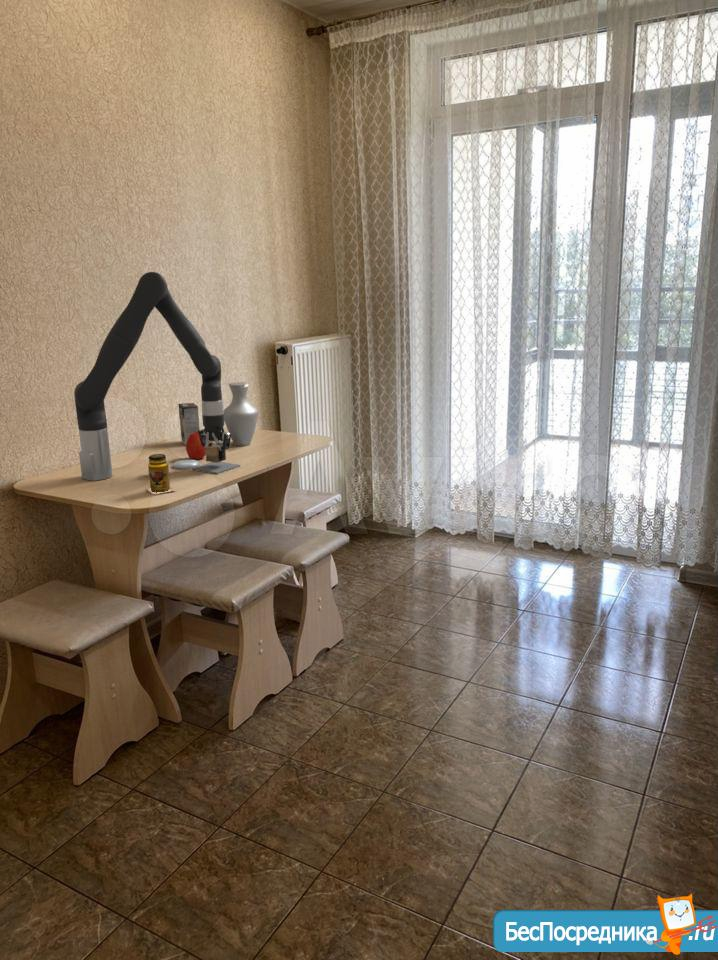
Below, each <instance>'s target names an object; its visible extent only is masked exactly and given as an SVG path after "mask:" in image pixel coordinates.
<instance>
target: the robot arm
mask: <svg viewBox="0 0 718 960" xmlns="http://www.w3.org/2000/svg"><path fill="white" fill-rule="evenodd" d="M154 308H155V309H156V310H157V311H158V313H160V315H161V316H162V317H163V319H164V320H165V322H166V324H167V325H168V326H169V328H170V329H171V331H172V332H173V335H174V336H175V338H176V339H177V340H178V342H179V344H180V345H181V346H182V347H183V349H184V350H185V351H186V352H187V354H188V355H189V357H190V359H191V361H192V363H193V365H194V366H195V369H196V370H197V372H199V374H200V375H201V380H202V381H201V387H200V394H201V418H202V426H203V427H204V428H202V429H200V430H198V434H199V438H200V442H201V446H204V447H205V448H206V447H209V446H212V445H214V443H215V445H217V446H218V449H219V460H220V461H221V462H224V461H226V460H225V449H226V450H227V449H230V448H231V447H230V445H231V440H232V439H231V433H229V432H226V431H225V429H224V427H225V421H224V403H223V396H222V395H223V393H222V384H221V382H222V364H221V361H220V359H219V358H218V357H217V356H216V355H214V354H211V353H210V351H209V350H208V348H207V347H206V342H205V340H204V339H203V338H202V336H201V334H200V333H199V332H198V331H197V329H196V328H195V326H194V324H193V323H192V321H190V320H189V318H187V316H186V315H185V314H184V312H183V311H182V310H181V309H180V308H179V306H178V304H177V303H176V301H175V299H174V298H173V296H172V294H171V292H170V290H169V288H168V284H167V281H166V279H165V277H164V276H163V275H162V274H161V273H159V272H156V271H149V272H145V273H143V274H142V275H141V277H140V278H139V280H138V283H137V285H136V287H135V290H134V292H133V294H132V296H131V298H130V300H129V302H128V304H127V305H126V307H125V309H124V310H123V311H122V312H121V314H120V315H119V317H118V318H117V319H116V321H115V322H114V324H113V325H112V327H111V329H110V331H109V332H108V334H107V335H106V337H105V339H104V340H103V343H102V345H101V347H100V348H99V349H100V350H99V351H98V355H97V358H96V360H95V363H94V365H93V367H92V369H91V370H90V372H89V373H88V375H87V376H86V377H85V379H84V380H82V381H80V382H79V383H77V385H76V386H75V387H74V391H73V395H74V397H73V398H74V403H75V404H74V405H75V412H76V419H77V420H76V421H77V426H78V428H77V429H78V434H79V442H80V443H79V444H80V451H79V452H78V456H79V464H80V473H81V479H83V480H87V481H93V482H94V481H99V480H100V481H101V480H105V479H110V478H113V476H114V475H113V467H112V458H111V448H110V439H109V431H108V429H109V428H108V421H107V414H106V408H105V407H106V406H105V399H106V396H107V394H108V392H109V389H110V387H111V385H112V383H113V381H114V379H115V378H116V376H117V374H118V373H119V372H120V371H121V369H122V368H123V366H124V365H125V363H126V362H127V360H128V358H129V357H130V356H131V355H132V352H133V351H134V349H135V347H136V345H137V344H138V342H139V340H140V338H141V335H142V334H143V333H142V332H143V331H144V328H145V326H146V323H147V320H148V318H149V316H150V315H151V313H152V312H153V310H154ZM203 439H204V441H203ZM204 442H205V443H204ZM221 446H222V447H221ZM223 460H224V461H223Z"/></svg>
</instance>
